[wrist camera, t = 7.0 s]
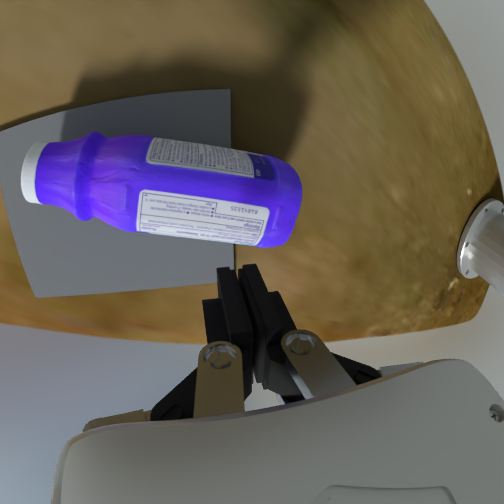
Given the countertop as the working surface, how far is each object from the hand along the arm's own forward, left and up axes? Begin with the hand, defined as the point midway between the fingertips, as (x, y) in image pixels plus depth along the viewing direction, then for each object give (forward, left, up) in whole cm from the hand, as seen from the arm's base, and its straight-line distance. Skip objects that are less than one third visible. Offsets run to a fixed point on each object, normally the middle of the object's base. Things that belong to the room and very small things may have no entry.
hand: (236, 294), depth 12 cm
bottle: (-5, -1, -8) cm, 9 cm away
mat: (+9, -1, -12) cm, 15 cm away
